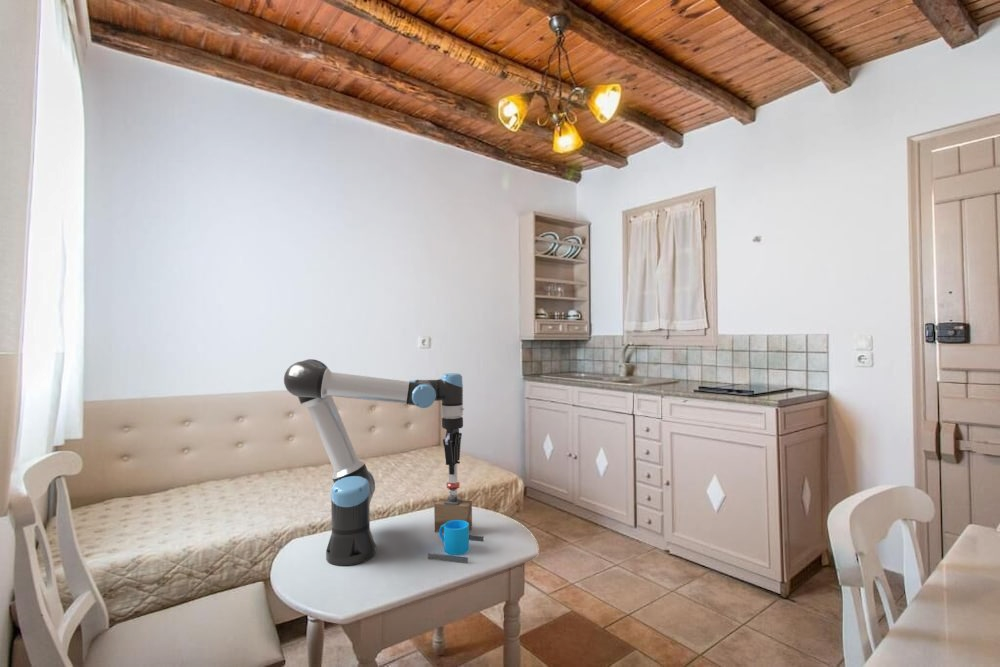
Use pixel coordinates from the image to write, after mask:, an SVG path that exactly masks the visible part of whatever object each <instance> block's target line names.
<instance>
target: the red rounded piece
mask: <svg viewBox="0 0 1000 667" xmlns="http://www.w3.org/2000/svg"><path fill="white" fill-rule="evenodd" d="M459 488H460V481H457V483H449V481H448V482H446V489H448V499H449V500H450V501H456V500H457V499H458V489H459Z"/></svg>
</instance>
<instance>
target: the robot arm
mask: <svg viewBox="0 0 1000 667" xmlns="http://www.w3.org/2000/svg"><path fill="white" fill-rule="evenodd" d="M283 384H284V387H285V388H286V391H287V392H289V393H290V394H291V395H293V396H295V397H297V398H298V401H299V403H300V405H302V406H303V407H307V409H308V411H309V413H310V416H311V419H312V421H313V423H314V426H315V429H316V431H317V434H318V436H319V439H320V440H321V443H322V445H323V447H324V450H325V452H326V455H327V457H328V460H329V462H330V464H331V467H332V469H333V474H332V476H331V480H332V482H333V484H332V487H331V492H330V499H331V500H330V501H331V502H330V503H331V505H330V506H331V509H330V510H331V535H330V538H329V541H328V544H327V547H326V549H325V550H326V551H325V560H326V561H327V562H328V563H329V564H331V565H335V566H350V565H351V566H352V565H357V564H361V563H363V562H366V561H368V560H370V559H371V558H373V556H375V554H376V542H375V540H374V537H373V534H372V531H371V527H370V524H371V523H370V521H371V520H370V512H371V511H370V510H371V509H370V505H371V501H372V498H373V495H374V493H375V491H376V490H375V489H376V482H375V479H374V478H375V477H374V476H373V474H372V473H371V472H370V471H369V470H368V468H367V466H366V462H365V461H362V460H359V458H358V456H357V453H356V451H355V449H354V446H353V444H352V441H351V439H350V436H349V434H348V432H347V429H346V427H345V425H344V422H343V420H342V417H341V415H340V412H339V410H338V407H337V405H336V402H335V400H334V398H333V397H336V398H345V399H355V400H365V401H373V402H382V403H390V404H391V403H393V404H399V405H409V406H416V407H417V408H420V409H426V408H429V407H430V406H432V405H433V404H434V403H435V402H436V401H437V402H439V401H441V416H442V418H441V428H443V430H446V433H445V439H444V438H443V440H442V444H443V448H444V455H445V456H444V457H445V458H444V459H445V465H446V466H448V482H449V483H457V482H458V465H459V464H460V463H461V462H460V459H461V458H460V457H461V444H462V442H461V441H462V432H460V429H462V428H463V427H464V417H463V415H464V410H465V408H464V405H463V404H464V398H463V396H464V394H463V392H464V390H463V389H464V385H463V376H462V374H461V373H453V372H451V373H442V374H441V378H440V379H414V380H412V379H411V380H409V381H405V380H400V379H397V380H396V379H390V378H381V377H375V376H368V375H367V376H366V375H358V374H357V375H356V374H349V373H341V372H332V371H331V370H330V368H329V367H328V366H327V365H326V364H325V363H324V362H323V361H321V360H319V359H311V358H310V359H305V360H301V361H296V362H295V363H293V364H290V366H289V367H288V368H287V369H286V371H285V372H284V376H283Z"/></svg>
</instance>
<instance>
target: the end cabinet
mask: <svg viewBox="0 0 1000 667" xmlns="http://www.w3.org/2000/svg"><path fill="white" fill-rule="evenodd" d="M433 509H434V513H433V514H434V515H433V516H434V533H439V529H440V527H441V526H442V525H443V524H445V523H446V522H448V521H452V520H463V521H466V522H468V523H469V533H470V532H471V531H472V530H473V501H472V500H464V499H462V498H457V500H456V501H450V500H449V498H442V497H441V498H439V500H437V501H436V502H435V503H434V508H433ZM442 532H443V534H444V528H443V531H442Z"/></svg>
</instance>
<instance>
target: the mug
mask: <svg viewBox="0 0 1000 667" xmlns="http://www.w3.org/2000/svg"><path fill="white" fill-rule="evenodd" d="M443 528H444V533H443V532H442V531H443ZM438 534H439V537H440V540H441V541H442V543H443V545H444V546H443V551H444V553H445V554H446V555H451V556H461V555H465V554H467V553H468V552H469V551H470V540H469V535H470V532H469V523H468V522H466V521H463V520H452V521H448V522H446V523H445V524H443V525H442V526H441V527H440V529H439V532H438Z"/></svg>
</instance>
